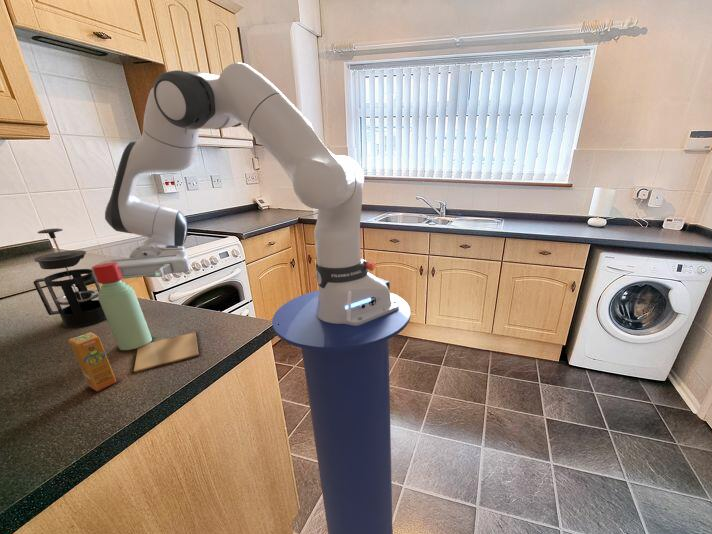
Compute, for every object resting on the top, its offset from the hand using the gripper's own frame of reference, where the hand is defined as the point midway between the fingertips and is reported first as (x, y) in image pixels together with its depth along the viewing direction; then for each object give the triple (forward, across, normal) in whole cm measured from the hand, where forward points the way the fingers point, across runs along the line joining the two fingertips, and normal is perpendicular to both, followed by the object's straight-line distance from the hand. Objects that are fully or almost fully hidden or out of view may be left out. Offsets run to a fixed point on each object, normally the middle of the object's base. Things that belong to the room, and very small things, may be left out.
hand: (135, 276), depth 80 cm
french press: (-7, -16, +12) cm, 21 cm away
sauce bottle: (+12, 0, +12) cm, 17 cm away
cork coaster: (+18, +7, +12) cm, 23 cm away
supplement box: (+26, -1, +12) cm, 29 cm away
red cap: (+11, -1, -3) cm, 11 cm away
